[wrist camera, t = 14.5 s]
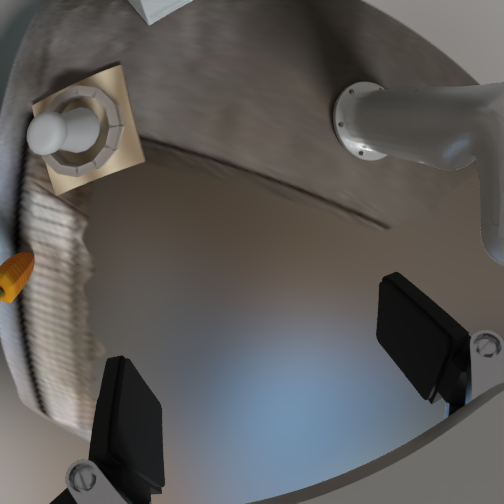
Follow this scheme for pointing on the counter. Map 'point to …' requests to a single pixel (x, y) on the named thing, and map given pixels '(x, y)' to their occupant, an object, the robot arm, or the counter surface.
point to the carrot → (15, 275)
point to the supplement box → (156, 8)
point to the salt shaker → (63, 131)
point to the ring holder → (110, 135)
